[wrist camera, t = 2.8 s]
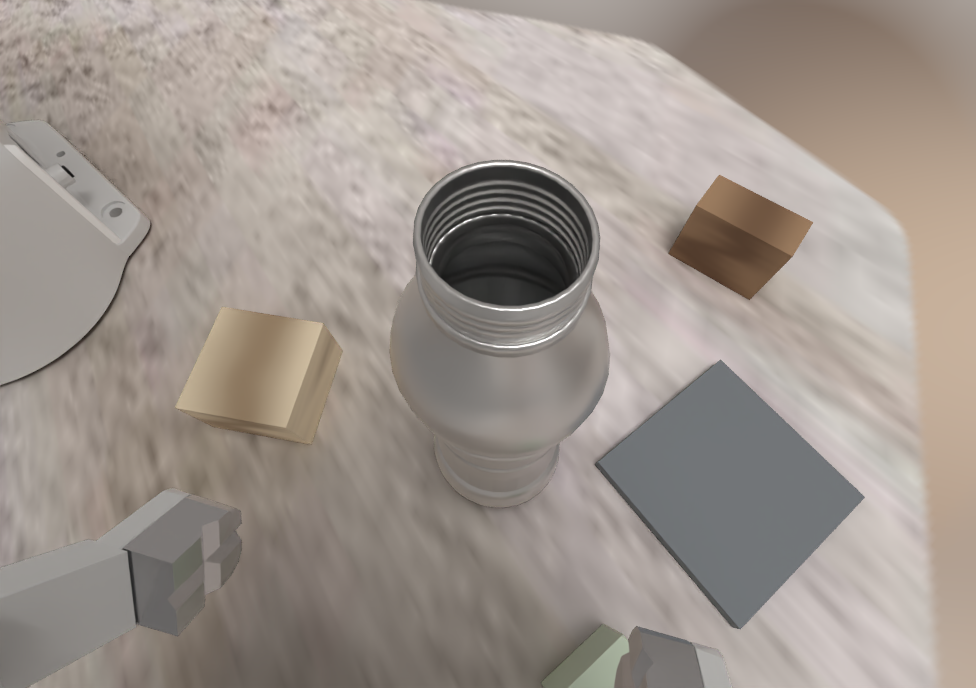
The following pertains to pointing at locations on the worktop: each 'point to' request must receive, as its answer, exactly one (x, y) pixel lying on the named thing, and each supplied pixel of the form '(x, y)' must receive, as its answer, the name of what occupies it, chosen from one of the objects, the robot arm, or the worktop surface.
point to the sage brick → (591, 662)
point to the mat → (729, 491)
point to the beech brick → (262, 375)
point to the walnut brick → (739, 237)
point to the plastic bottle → (501, 326)
